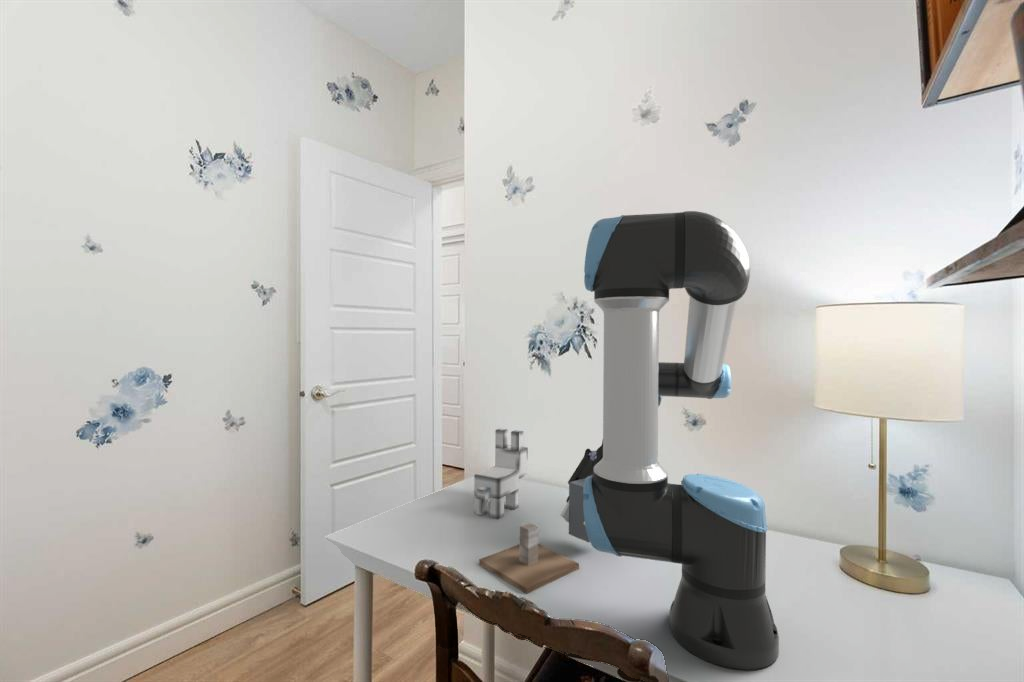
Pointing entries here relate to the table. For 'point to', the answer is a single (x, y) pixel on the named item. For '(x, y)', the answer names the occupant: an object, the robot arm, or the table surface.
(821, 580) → the table surface
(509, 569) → the post
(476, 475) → the toy llama
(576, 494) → the gray upright pillar
